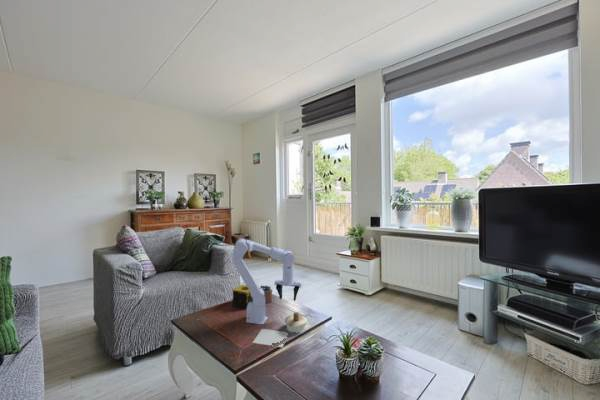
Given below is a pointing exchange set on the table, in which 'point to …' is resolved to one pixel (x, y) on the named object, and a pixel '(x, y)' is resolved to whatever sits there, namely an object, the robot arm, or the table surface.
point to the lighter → (267, 293)
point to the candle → (241, 297)
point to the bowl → (295, 328)
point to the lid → (296, 320)
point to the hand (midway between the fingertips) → (287, 299)
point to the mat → (270, 337)
